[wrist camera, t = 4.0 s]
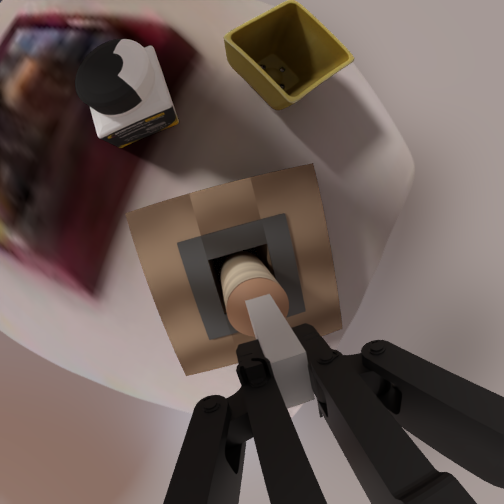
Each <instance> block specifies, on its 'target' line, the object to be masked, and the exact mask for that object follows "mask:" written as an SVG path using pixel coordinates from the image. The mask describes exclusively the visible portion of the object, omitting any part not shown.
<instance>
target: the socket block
mask: <svg viewBox="0 0 504 504" xmlns="http://www.w3.org/2000/svg"><path fill="white" fill-rule="evenodd" d="M125 214H126V218H127V221H128V224H129V228H130V231H131V234H132V238H133V241H134V244H135V247H136V250H137V254H138V257H139V260H140V263H141V266H142V268H143V271H144V274H145V277H146V280H147V283H148V286H149V288H150V291H151V294H152V296H153V299H154V302H155V304H156V307H157V309H158V312H159V315H160V317H161V320H162V322H163V324H164V327H165V329H166V332H167V334H168V337H169V339H170V341H171V344H172V346H173V348H174V350H175V353H176V355H177V357H178V359H179V362H180V364H181V366H182V368H183V370H184V372H185V375H186V376H188V375H193V374H197V373H201V372H205V371H209V370H213V369H217V368H221V367H225V366H229V365H233V364H236V363H238V359H237V354H236V349H237V347H238V345H239V344H242V343H246V342H249V341H253V340H256V338H255V336H248V335H244V334H242V333H240V332H238V331H237V330H236V329H235V328H234V327H233V326H232V325H231V323H230V322H229V319H228V316H227V311H226V306H225V301H224V295H223V290H222V284H219V281H218V277H217V274H216V271H215V267H214V264H213V260H212V259H214V258H217V257H221V256H225V255H228V254H232V253H235V252H239V251H242V250H246V249H249V248H253V247H256V250H257V254H258V258H259V259H260V260H261V261H262V263H263V264H264V265H265V267H266V268H267V269H268V270H269V272H270V273H271V274H272V275H273V277H274V278H275V279H276V281H277V282H278V283H279V284H280V286H281V287H282V288H283V289H284V291H285V292H286V294H287V297H288V301H289V310H288V314H287V317H286V321H287V322H288V324H289V326H290V327H291V328H292V327H295V326H298V325H301V324H304V323H307V324H310V325H312V326H314V328H315V329H316V330H317V332H318V333H319V334H320V336H324V335H327V334H329V333H332V332H335V331H337V330H340V329H342V320H341V312H340V305H339V297H338V290H337V284H336V277H335V271H334V265H333V259H332V253H331V247H330V241H329V236H328V231H327V225H326V220H325V215H324V210H323V205H322V201H321V196H320V191H319V187H318V182H317V178H316V173H315V169H314V165H313V163H312V164H307V165H302V166H298V167H293V168H288V169H284V170H279V171H275V172H270V173H266V174H262V175H258V176H253V177H249V178H245V179H241V180H237V181H233V182H229V183H226V184H222V185H218V186H214V187H211V188H207V189H203V190H200V191H196V192H193V193H189V194H186V195H182V196H179V197H176V198H172V199H169V200H166V201H162V202H159V203H156V204H153V205H150V206H147V207H143V208H140V209H137V210H134V211H131V212H128V213H125Z"/></svg>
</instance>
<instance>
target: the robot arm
mask: <svg viewBox="0 0 504 504" xmlns="http://www.w3.org/2000/svg"><path fill="white" fill-rule="evenodd" d="M1 1H2V0H0V3H1ZM245 303H246V306H247V310H248V313H249V317H250V320H251V324H252V327H253V331H254V334H255V338H256V340H253V341H249V342H246V343H242V344H239V345H238V347H237V349H236V354H237V359H238V364H239V365H238V366H237V369H236V372H237V374H238V377H239V380H240V383H241V385H242V386H241V388H240V389H239V391H237V392H236V393H235V394H233V395H232V396H230V397H228V398H225V397H223V396H220V395H211V396H207V397H205V398H203V399H201V400H200V401H199V402H198V403H197V404H196V406H195V408H194V411H193V414H192V418H191V420H190V423H189V426H188V429H187V433H186V436H185V439H184V442H183V445H182V448H181V451H180V454H179V457H178V460H177V463H176V466H175V469H174V472H173V475H172V478H171V481H170V484H169V488H168V491H167V494H166V497H165V500H164V503H163V504H238V503H239V495H240V487H241V480H242V472H243V464H244V456H245V447H246V441H247V440H249V439H251V438H252V437H254V441H255V444H256V449H257V453H258V457H259V461H260V465H261V469H262V473H263V476H264V480H265V484H266V488H267V491H268V495H269V498H270V503H271V504H327V502H326V500H325V498H324V495H323V493H322V491H321V489H320V486H319V484H318V482H317V479H316V477H315V475H314V472H313V470H312V468H311V465H310V463H309V461H308V458H307V456H306V454H305V451H304V449H303V446H302V444H301V441H300V439H299V437H298V434H297V432H296V429H295V427H294V425H293V422H292V420H291V417H290V415H289V412H288V410H287V408H290V407H293V406H296V405H299V404H302V403H305V402H308V401H310V400H314V399H315V398H314V394H315V395H316V397H317V401H318V407H319V414H320V417H323V416H324V418H325V420H326V422H327V423H328V425H329V427H330V429H331V431H332V432H333V434H334V436H335V438H336V440H337V442H338V443H339V446H340V447H341V449H342V451H343V453H344V455H345V457H346V458H347V460H348V462H349V464H350V466H351V468H352V469H353V471H354V473H355V475H356V477H357V479H358V480H359V482H360V484H361V486H362V488H363V489H364V491H365V493H366V495H367V497H368V498H369V500H370V502H371V504H477V503H476V502H475V501H474V499H473V498H472V497H471V496H470V495H469V494H468V492H467V491H466V490H465V489H464V488H463V486H462V485H461V484H460V483H459V481H458V480H457V479H456V478H455V477H454V476H453V475H452V474H450V473H448V472H439V471H437V470H436V469H435V468H434V467H433V465H432V464H431V463H430V462H429V461H428V459H427V458H426V457H425V456H424V454H423V453H422V452H421V451H420V450H419V448H418V447H417V446H416V445H415V443H414V442H413V441H412V440H411V438H410V437H409V436H408V435H407V433H406V432H405V431H404V430H403V428H404V429H406V430H407V431H408V432H410V433H411V434H413V435H414V436H416V437H417V438H419V439H420V440H421V441H423V442H425V443H426V444H427V445H429V446H430V447H432V448H433V449H435V450H436V451H438V452H439V453H441V454H442V455H444V456H446V457H447V458H449V459H450V460H452V461H453V462H455V463H457V464H458V465H460V466H461V467H463V468H464V469H466V470H468V471H469V472H471V473H473V474H474V475H476V476H477V477H479V478H481V479H482V480H484V481H486V482H488V483H490V484H492V485H494V486H497V487H500V488H504V397H502V396H500V395H498V394H496V393H494V392H491V391H489V390H487V389H485V388H483V387H480V386H478V385H476V384H474V383H472V382H470V381H468V380H466V379H464V378H462V377H459V376H457V375H455V374H453V373H451V372H449V371H447V370H445V369H443V368H441V367H439V366H437V365H435V364H432V363H430V362H428V361H426V360H424V359H422V358H420V357H418V356H416V355H414V354H412V353H410V352H408V351H406V350H404V349H401V348H400V347H398V346H396V345H394V344H392V343H390V342H388V341H384V340H375V341H371V342H369V343H366V344H365V345H364V346H363V348H362V350H361V353H360V354H354V355H342V354H341V353H340V352H339V351H337V350H334V349H331V348H330V347H329V345H328V344H327V343H326V342H325V340H324V339H323V338H322V337H321V336H320V334H319V333H318V332H317V330H316V329H315V328H314V326H312V325H310V324H307V323H304V324H301V325H298V326H295V327H292V328H291V327H290V326H289V324H288V322H287V321H286V319H285V318H284V316H283V314H282V313H281V311H280V310H279V308H278V306H277V305H276V303H275V302H274V300H273V298H272V297H271V295H270V294H267V295H263V296H260V297H257V298H253V299H250V300H246V301H245ZM322 414H323V415H322ZM402 427H403V428H402Z"/></svg>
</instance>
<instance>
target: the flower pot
mask: <svg viewBox="0 0 504 504" xmlns="http://www.w3.org/2000/svg"><path fill="white" fill-rule="evenodd" d="M224 42H225V49H226V56H227V60H228V62H229V64H230V65H231V67H232V68H233V69H234V70H235V71H236V72H237V73H238V74H239V75H240V76H241V77H242V78H243V79H244V80H245V81H246V82H247V83H248V84H249V85H250V86H251V87H252V88H253V89H254V90H255V91H256V92H257V93H258V94H259V95H260V96H261V97H262V98H263V99H264V100H265V101H266V102H267V103H268V104H269V106H270V107H272V108H273V109H275V110H282V109H284V108H286V107H288V106H290V105H292V104H294V103H296V102H298V101H299V100H300V99H301V98H303V97H304V96H305V95H306V94H308V93H309V92H310V91H312V90H313V89H314V88H316V87H317V86H318V85H320V84H321V83H323V82H324V81H325V80H327V79H328V78H330V77H331V76H333V75H334V74H335V73H337V72H338V71H340V70H341V69H343V68H345V67H346V66H348V65H349V64H351V63H352V62H353V61H354V57H353V55H352V54H351V53H350V52H349V51H348V49H347V48H346V47H345V46H344V45H343V44H342V43H341V42H340V41H339V40H338V39H337V38H336V37H335V36H334V35H333V34H332V33H331V32H330V31H329V30H328V29H327V28H326V27H325V26H324V25H323V24H322V23H321V22H319V20H317V19H316V18H315V17H314V16H313V15H312V14H311V13H310V12H309V11H308V10H307V9H306V8H305V7H303V6H302V5H301V4H300V3H298V2H296V1H295V0H287V1H285V2H283V3H281V4H279V5H278V6H276V7H274V8H272V9H270V10H268V11H266V12H265V13H263V14H261V15H259V16H257V17H255V18H253V19H251V20H249V21H248V22H246V23H244V24H242V25H240V26H239V27H237V28H235V29H233V30H231V31H230V32H228V33H227V34H226V35H225V36H224ZM262 65H263V66H265V69H262V68H261V67H260V66H262ZM280 68H283V69H284V72H281V71H280ZM279 85H283V86H284V88H283V89H282V88H281V87H280V86H279Z"/></svg>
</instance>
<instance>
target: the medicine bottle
mask: <svg viewBox="0 0 504 504" xmlns="http://www.w3.org/2000/svg"><path fill="white" fill-rule="evenodd" d="M75 88H76V92H77V94H78V96H79V98H80V99H81V100H82V101H83V102H84V103H85V104H87V105H88V106H90V110H91V114H92V118H93V121H94V125H95V129H96V132H97V136H98V138H100V139H102V140H104V141H107V142H109V143H111V144H113V145H115V146H117V147H119V148H122V147H125V146H127V145H129V144H131V143H133V142H136V141H138V140H140V139H142V138H145V137H147V136H149V135H152V134H154V133H157V132H159V131H161V130H164V129H166V128H169V127H172V126H174V125H177V124H178V123H179V120H178V117H177V114H176V111H175V108H174V105H173V102H172V99H171V97H170V94H169V91H168V88H167V85H166V82H165V79H164V76H163V73H162V70H161V67H160V64H159V61H158V59H157V56H156V53H155V50H154V47H153V46H147V47H145V48H143V46H141V45H140V44H139V43H137V42H135V41H133V40H129V39H117V40H112V41H109V42H106V43H104V44H102V45H100V46H98V47H97V48H95V49H94V50H93V51H92V52H90V53H89V54H88V55H87V56H86V58H85V59H84V60H83V62H82V63H81V65H80V67H79V69H78V71H77V74H76V79H75Z"/></svg>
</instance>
